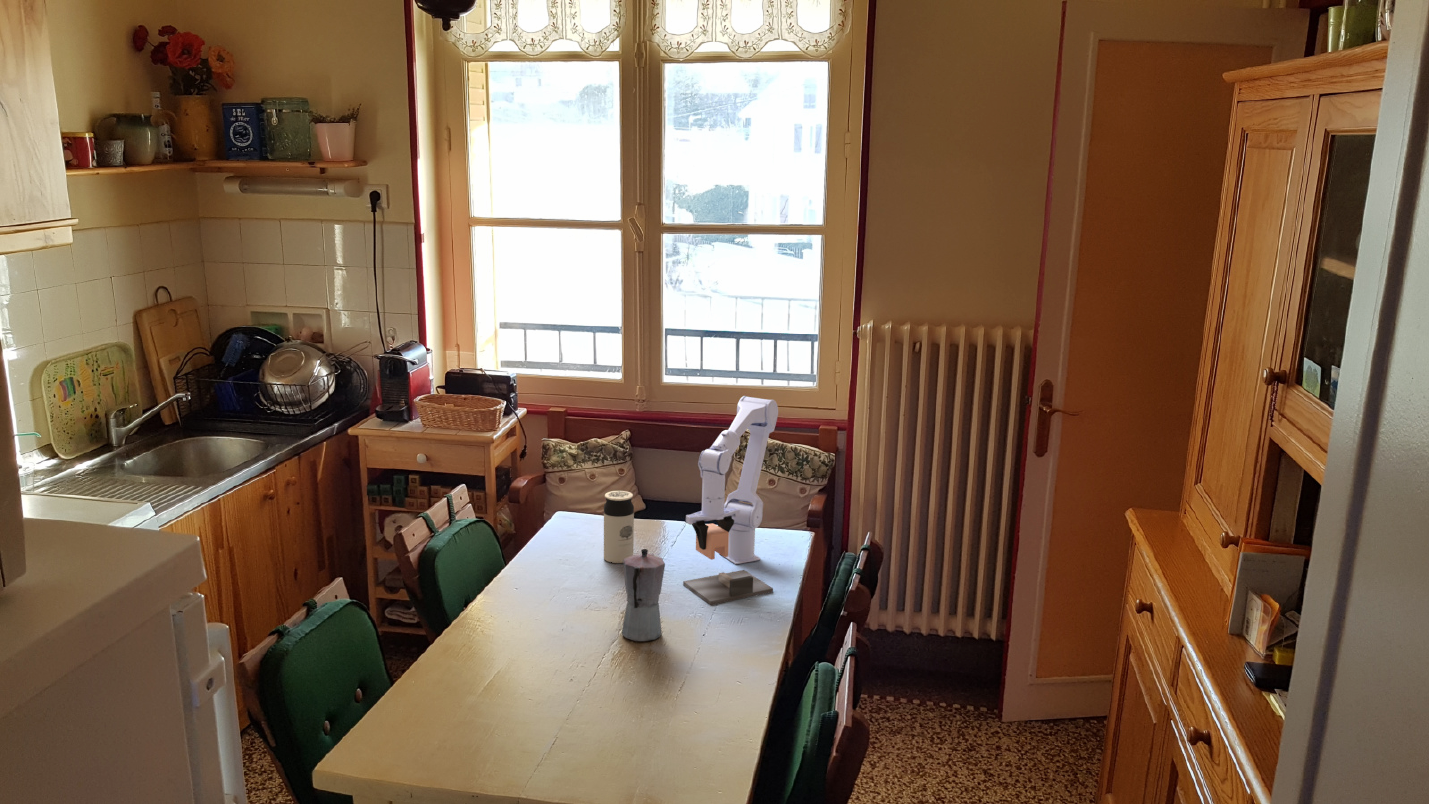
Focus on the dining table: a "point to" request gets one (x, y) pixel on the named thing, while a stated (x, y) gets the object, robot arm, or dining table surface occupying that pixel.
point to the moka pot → (643, 596)
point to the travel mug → (618, 526)
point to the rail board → (727, 587)
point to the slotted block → (715, 542)
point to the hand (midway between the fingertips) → (712, 546)
